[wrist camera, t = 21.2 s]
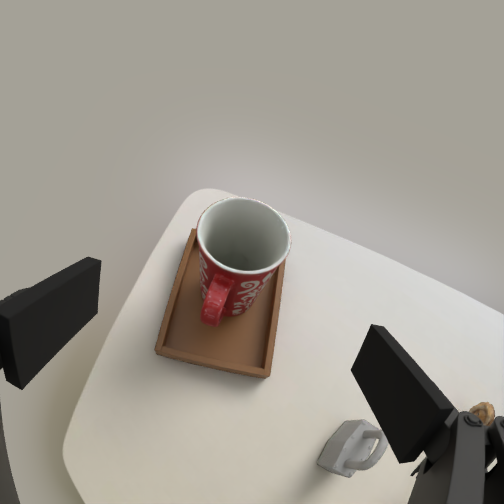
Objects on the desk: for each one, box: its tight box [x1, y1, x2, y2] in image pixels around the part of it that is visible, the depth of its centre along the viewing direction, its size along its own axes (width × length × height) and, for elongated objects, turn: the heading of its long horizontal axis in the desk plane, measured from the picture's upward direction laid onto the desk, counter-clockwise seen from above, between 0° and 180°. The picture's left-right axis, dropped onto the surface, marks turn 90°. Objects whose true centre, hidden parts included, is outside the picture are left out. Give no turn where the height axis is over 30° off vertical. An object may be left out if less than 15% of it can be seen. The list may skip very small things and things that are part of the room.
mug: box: [196, 197, 291, 327], centre depth 32 cm, size 13×9×14 cm
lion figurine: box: [469, 402, 495, 426], centre depth 28 cm, size 15×5×9 cm, turn 30°
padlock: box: [317, 419, 389, 478], centre depth 26 cm, size 7×4×10 cm, turn 143°
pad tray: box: [155, 228, 286, 379], centre depth 37 cm, size 14×18×2 cm
